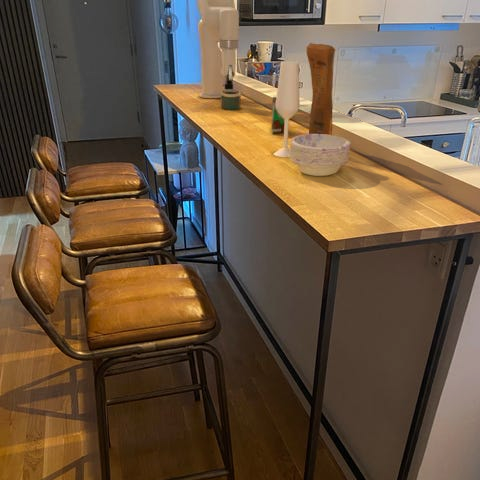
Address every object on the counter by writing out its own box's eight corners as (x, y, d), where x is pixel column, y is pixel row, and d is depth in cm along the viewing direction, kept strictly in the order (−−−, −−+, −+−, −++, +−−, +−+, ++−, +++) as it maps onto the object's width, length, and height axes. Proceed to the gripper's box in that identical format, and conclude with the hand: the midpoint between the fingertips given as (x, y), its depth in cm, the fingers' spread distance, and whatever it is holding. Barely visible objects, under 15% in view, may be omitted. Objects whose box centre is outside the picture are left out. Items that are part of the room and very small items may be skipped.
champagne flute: (298, 152, 148) (304, 61, 135) (294, 158, 143) (300, 63, 130) (276, 150, 150) (280, 60, 137) (271, 156, 144) (274, 63, 131)
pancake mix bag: (314, 157, 143) (323, 46, 128) (299, 141, 159) (305, 41, 144) (336, 156, 144) (348, 46, 129) (319, 141, 160) (328, 41, 145)
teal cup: (219, 104, 210) (219, 89, 206) (238, 104, 211) (238, 88, 207) (222, 110, 204) (222, 94, 200) (241, 109, 205) (242, 94, 201)
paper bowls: (333, 183, 123) (336, 150, 118) (278, 173, 130) (280, 142, 125) (355, 168, 134) (359, 137, 129) (304, 160, 140) (306, 130, 136)
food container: (291, 135, 166) (293, 103, 161) (272, 135, 166) (273, 102, 161) (288, 127, 177) (290, 96, 171) (271, 127, 177) (272, 96, 171)
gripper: (217, 42, 205) (218, 91, 215) (221, 46, 193) (221, 98, 203) (235, 42, 206) (235, 91, 216) (240, 46, 194) (240, 97, 204)
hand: (228, 94), depth 210 cm, fingers closed
